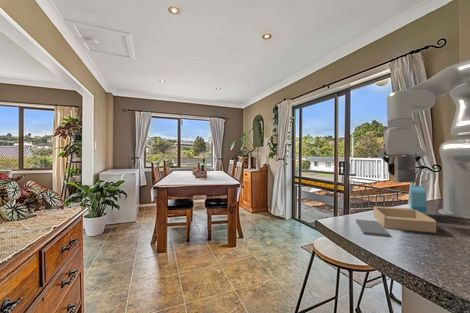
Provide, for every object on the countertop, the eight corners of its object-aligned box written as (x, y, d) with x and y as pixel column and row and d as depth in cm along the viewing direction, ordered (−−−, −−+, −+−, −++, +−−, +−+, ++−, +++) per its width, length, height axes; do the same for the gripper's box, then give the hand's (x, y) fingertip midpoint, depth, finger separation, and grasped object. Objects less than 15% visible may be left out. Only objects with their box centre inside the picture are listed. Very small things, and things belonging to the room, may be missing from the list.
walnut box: (404, 179, 81) (403, 156, 81) (415, 182, 72) (415, 156, 72) (388, 179, 83) (388, 156, 83) (398, 182, 74) (397, 156, 74)
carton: (414, 218, 83) (414, 208, 83) (439, 234, 66) (439, 222, 66) (372, 215, 88) (372, 206, 88) (386, 229, 71) (385, 218, 72)
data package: (427, 220, 80) (425, 189, 81) (411, 218, 83) (410, 188, 84) (424, 214, 90) (423, 186, 90) (410, 212, 93) (409, 185, 93)
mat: (377, 223, 78) (377, 221, 78) (389, 236, 65) (389, 234, 65) (355, 221, 81) (355, 219, 81) (363, 234, 68) (363, 231, 68)
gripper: (424, 124, 78) (425, 173, 78) (370, 128, 84) (371, 173, 84) (434, 121, 71) (436, 175, 71) (375, 125, 77) (376, 175, 77)
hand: (401, 173), depth 78 cm, fingers closed on walnut box, 5 cm apart
